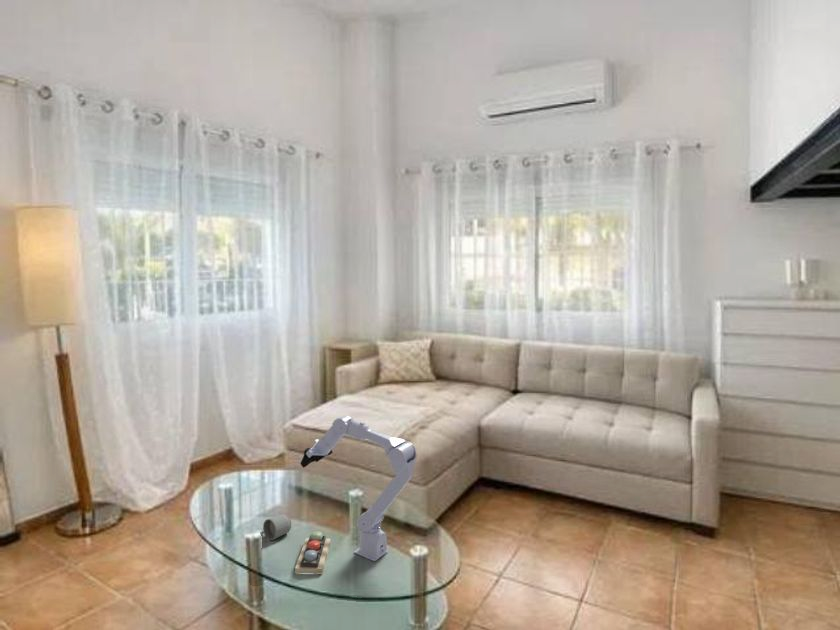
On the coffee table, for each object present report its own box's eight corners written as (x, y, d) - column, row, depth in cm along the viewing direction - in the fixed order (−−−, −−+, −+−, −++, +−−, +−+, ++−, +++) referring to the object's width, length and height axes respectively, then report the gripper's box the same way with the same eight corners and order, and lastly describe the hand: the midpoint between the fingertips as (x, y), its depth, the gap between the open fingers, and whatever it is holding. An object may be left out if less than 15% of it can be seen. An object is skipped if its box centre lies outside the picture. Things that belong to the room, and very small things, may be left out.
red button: (309, 545, 187) (309, 540, 186) (320, 545, 187) (320, 540, 187) (307, 551, 183) (307, 546, 182) (318, 551, 183) (318, 546, 183)
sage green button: (312, 536, 193) (312, 531, 193) (323, 536, 193) (323, 531, 193) (310, 542, 189) (310, 536, 189) (321, 542, 189) (321, 537, 189)
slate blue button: (305, 555, 180) (305, 549, 180) (317, 555, 180) (317, 550, 180) (303, 561, 176) (303, 556, 176) (315, 562, 176) (315, 556, 176)
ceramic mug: (292, 534, 201) (293, 515, 200) (275, 543, 194) (275, 522, 193) (274, 526, 207) (274, 507, 206) (257, 534, 200) (257, 514, 200)
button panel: (305, 543, 195) (306, 534, 194) (330, 543, 195) (330, 534, 195) (294, 574, 175) (295, 564, 175) (322, 574, 175) (322, 564, 175)
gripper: (334, 427, 203) (314, 449, 208) (310, 436, 190) (290, 459, 195) (345, 442, 201) (325, 463, 206) (321, 451, 188) (300, 474, 193)
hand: (308, 462), depth 200 cm, fingers open, 7 cm apart
